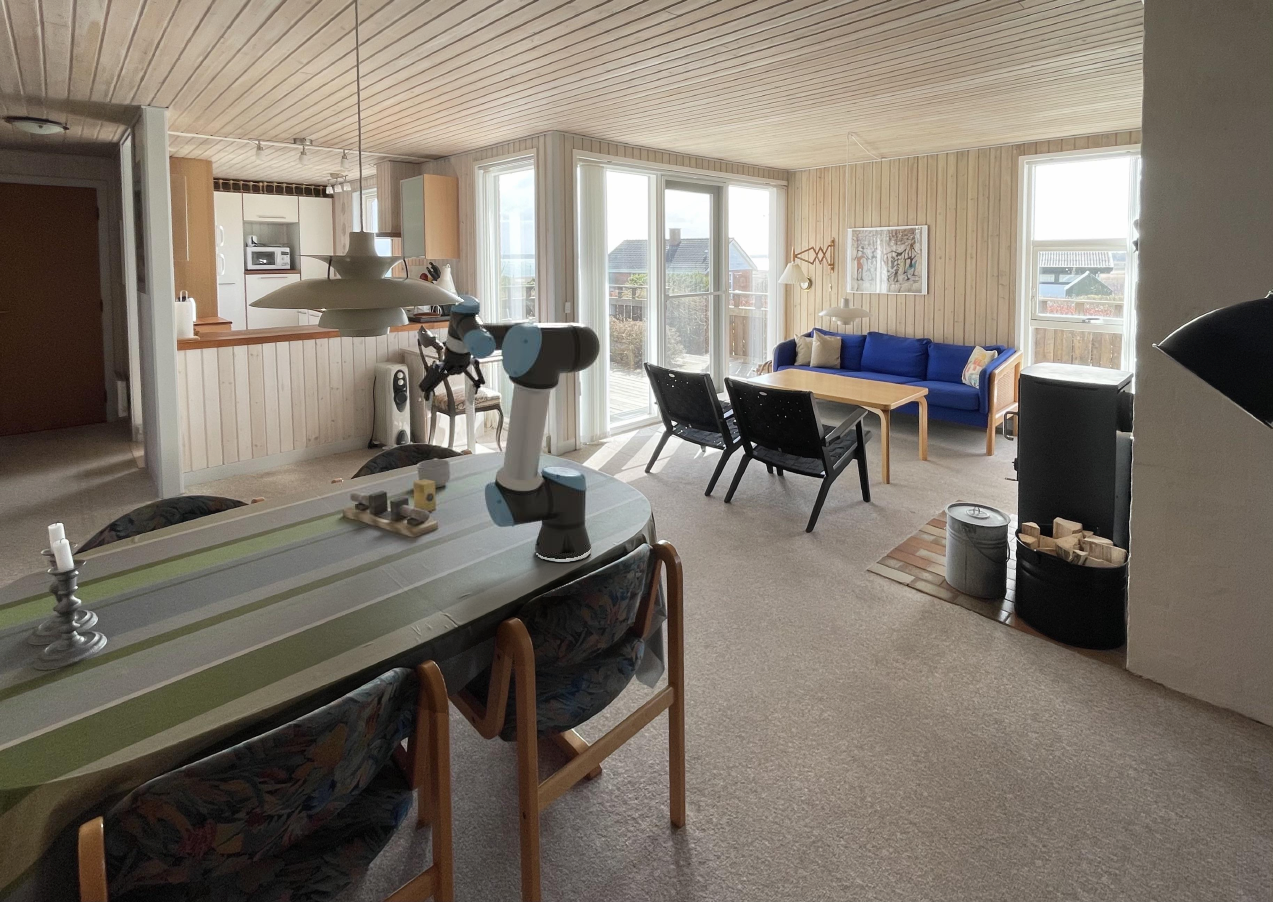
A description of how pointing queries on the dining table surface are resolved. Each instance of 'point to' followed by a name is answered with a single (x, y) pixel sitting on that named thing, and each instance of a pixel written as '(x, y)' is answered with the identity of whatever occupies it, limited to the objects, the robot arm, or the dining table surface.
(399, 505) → the shaft rig
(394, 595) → the dining table surface
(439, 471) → the teacup
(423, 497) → the block
